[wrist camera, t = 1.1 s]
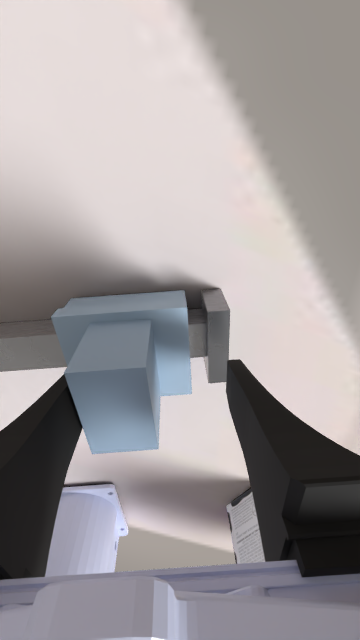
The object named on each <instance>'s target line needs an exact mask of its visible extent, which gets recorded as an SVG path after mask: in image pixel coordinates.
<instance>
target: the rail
mask: <svg viewBox="0 0 360 640" xmlns="http://www.w3.org/2000/svg"><path fill="white" fill-rule="evenodd" d="M187 314H188V332H189V350H190V358H194V357H204V362H205V367H206V372H207V378H208V383H218V382H226V381H227V360H229V328H230V309H229V307H228V304H227V302H226V300H225V298H224V295H223V293H222V291H221V289H210V290H202V309H189V310H187ZM57 367H67V364H66V361H65V358H64V355H63V352H62V349H61V346H60V343H59V340H58V337H57V334H56V331H55V328H54V325H53V322H52V319H51V320H37V321H23V322H10V323H0V372H3V371H16V370H30V369H44V368H57Z"/></svg>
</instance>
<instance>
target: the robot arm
mask: <svg viewBox="0 0 360 640" xmlns="http://www.w3.org/2000/svg"><path fill="white" fill-rule="evenodd" d="M226 393H227V399H228V404H229V409H230V413H231V416H232V419H233V422H234V426H235V429H236V432H237V435H238V438H239V441H240V444H241V448H242V451H243V454H244V458H245V462H246V466H247V471H248V475H249V480H250V485H251V490H252V494H253V499H254V504H255V509H256V515H257V520H258V525H259V530H260V536H261V541H262V547H263V552H264V558H265V562H256V563H241V564H227V565H212V566H199V567H198V566H197V567H183V568H168V569H153V570H139V571H124V572H114V570H115V563H116V556H117V548H118V541H119V536H125V535H127V534H128V527H127V524H126V520H125V517H124V514H123V511H122V508H121V504H120V501H119V498H118V495H117V492H116V488H115V486H114V485H112V484H103V485H89V486H76V487H63V485H64V481H65V477H66V474H67V470H68V467H69V464H70V461H71V459H72V456H73V453H74V450H75V447H76V445H77V442H78V439H79V436H80V433H81V430H82V428H83V426H82V424H81V421H80V418H79V415H78V412H77V409H76V406H75V403H74V401H73V398H72V395H71V392H70V389H69V386H68V383H67V381H66V378H65V375H63V376H62V377H61V378H60V379H59V380H58V381H57V382H56V383H55V384H54V385H52V386H51V387H50V388H49V389H48V390H47V391H46V392H45V393H44V394H43V395H42V396H41V397H40V398H39V399H38V400H37V401H36V402H35V403H34V404H32V405H31V406H30V407H29V408H28V409H27V410H26V411H25V412H23V413H22V414H21V415H20V416H19V417H18V418H17V419H15V420H14V421H13V422H12V423H10V424H9V425H8V426H7V427H5V428H4V429H3V430H1V431H0V640H360V456H359V455H357V454H355V453H353V452H352V451H350V450H348V449H346V448H344V447H342V446H340V445H339V444H337V443H335V442H334V441H332V440H330V439H329V438H327V437H325V436H324V435H322V434H321V433H319V432H317V431H316V430H315V429H313V428H312V427H310V426H309V425H307V424H306V423H304V422H303V421H302V420H300V419H299V418H298V417H296V416H295V415H294V414H293V413H291V412H290V411H289V410H288V409H286V408H285V407H284V406H283V405H282V404H281V403H280V402H279V401H277V400H276V399H275V398H274V397H273V396H272V395H271V394H270V393H269V392H268V391H267V390H266V389H265V388H264V387H263V386H262V385H261V383H260V382H259V381H258V380H257V379H256V378H255V377H254V376H253V375H252V373H251V372H250V371H249V370H248V369H247V367H246V366H245V365H244V364H243V362H242V361H241V360H240V359H239V360H227V381H226Z"/></svg>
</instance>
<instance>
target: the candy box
mask: <svg viewBox="0 0 360 640" xmlns="http://www.w3.org/2000/svg"><path fill="white" fill-rule="evenodd" d="M226 508H227V513H228V518H229V523H230V530H231V536H232V542H233V549H234V554H235V560H236V564H241V563H256V562H265V558H264V552H263V547H262V541H261V536H260V530H259V525H258V520H257V515H256V509H255V504H254V499H253V494H252V490H251V489H249V490H248V491H246V492H245V493H244V494H242V495H241V496H239V497H238V498H236V499H235V500H233V501H232V502H231V503H229V504H228V505H227V506H226Z"/></svg>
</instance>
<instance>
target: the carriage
mask: <svg viewBox="0 0 360 640" xmlns="http://www.w3.org/2000/svg"><path fill="white" fill-rule="evenodd" d="M51 319H52V322H53V325H54V328H55V331H56V334H57V337H58V340H59V343H60V346H61V349H62V352H63V355H64V358H65V361H66V364H67V368H66V370H65V372H64V375H65V378H66V381H67V383H68V386H69V389H70V392H71V395H72V398H73V401H74V403H75V406H76V409H77V412H78V415H79V418H80V421H81V424H82V426H83V429H84V432H85V435H86V438H87V441H88V444H89V447H90V449H91V452H92V454H99V453H113V452H126V451H140V450H153V449H158V448H159V420H160V396H170V395H184V394H192V387H191V369H190V350H189V332H188V314H187V303H186V298H185V291H184V290H180V291H167V292H153V293H139V294H125V295H111V296H98V297H84V298H71V299H70V300H69V302H68V303H67V304H66V306H65V307H64V308H58V309H57V310H56V311H55V313H54V314H53V315H52V316H51Z"/></svg>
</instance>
